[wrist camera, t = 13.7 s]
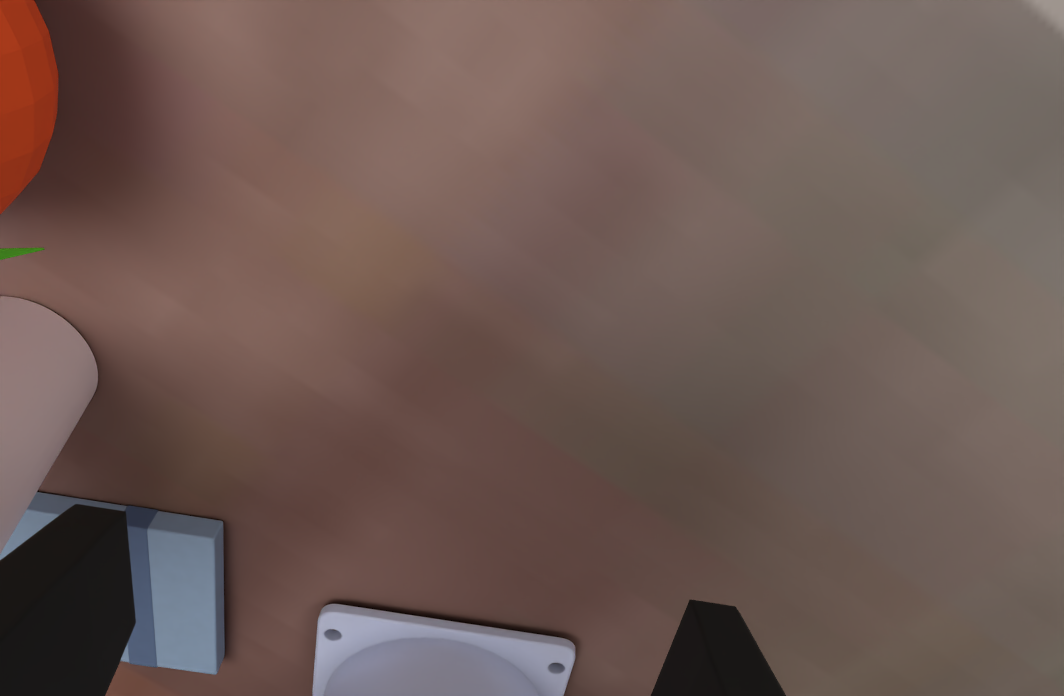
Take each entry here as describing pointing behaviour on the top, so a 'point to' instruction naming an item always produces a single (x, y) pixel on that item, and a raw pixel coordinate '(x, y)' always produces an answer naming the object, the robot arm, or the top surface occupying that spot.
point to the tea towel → (160, 581)
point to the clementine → (24, 100)
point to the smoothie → (36, 399)
